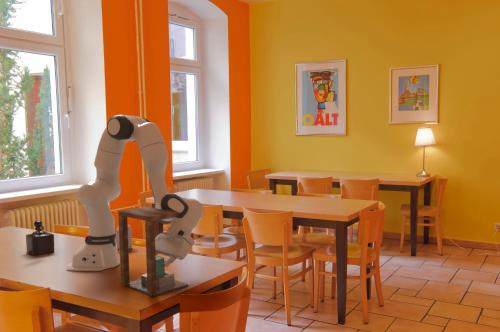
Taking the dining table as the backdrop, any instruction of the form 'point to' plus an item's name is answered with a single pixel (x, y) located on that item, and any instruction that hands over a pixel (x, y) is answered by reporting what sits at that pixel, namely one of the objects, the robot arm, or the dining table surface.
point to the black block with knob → (39, 241)
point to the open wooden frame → (150, 217)
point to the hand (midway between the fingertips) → (157, 263)
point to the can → (128, 238)
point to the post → (160, 267)
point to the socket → (158, 284)
